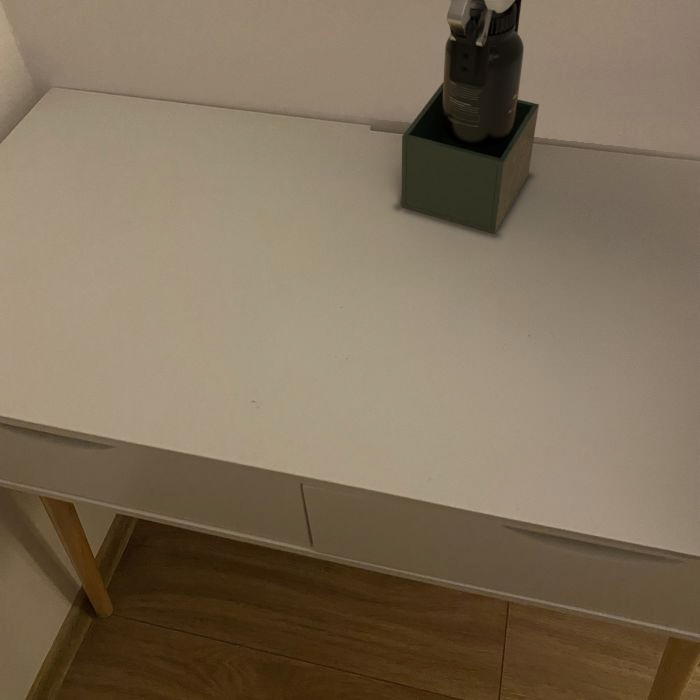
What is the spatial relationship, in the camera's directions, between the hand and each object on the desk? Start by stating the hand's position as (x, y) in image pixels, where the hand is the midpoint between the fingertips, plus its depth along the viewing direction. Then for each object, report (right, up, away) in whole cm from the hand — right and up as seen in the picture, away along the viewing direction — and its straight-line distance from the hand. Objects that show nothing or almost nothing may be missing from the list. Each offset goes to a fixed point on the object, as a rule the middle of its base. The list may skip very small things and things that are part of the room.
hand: (483, 59), depth 72 cm
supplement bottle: (0, -5, +6) cm, 7 cm away
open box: (0, -9, +12) cm, 15 cm away
